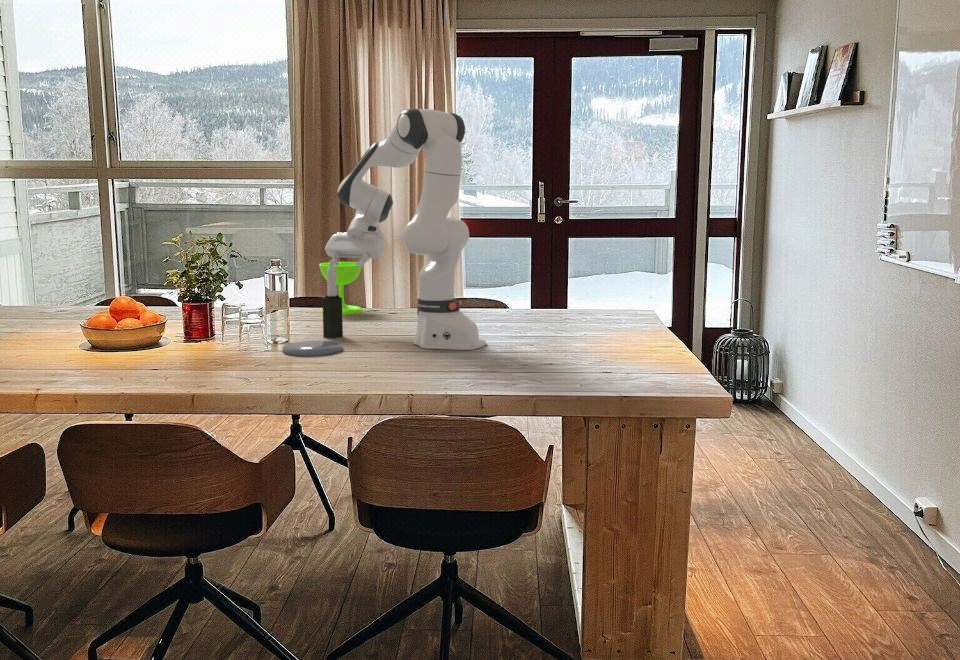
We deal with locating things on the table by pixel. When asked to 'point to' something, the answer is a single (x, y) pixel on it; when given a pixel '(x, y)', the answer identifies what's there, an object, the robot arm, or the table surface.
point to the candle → (332, 307)
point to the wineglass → (343, 281)
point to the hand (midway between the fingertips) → (346, 265)
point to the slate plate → (312, 348)
